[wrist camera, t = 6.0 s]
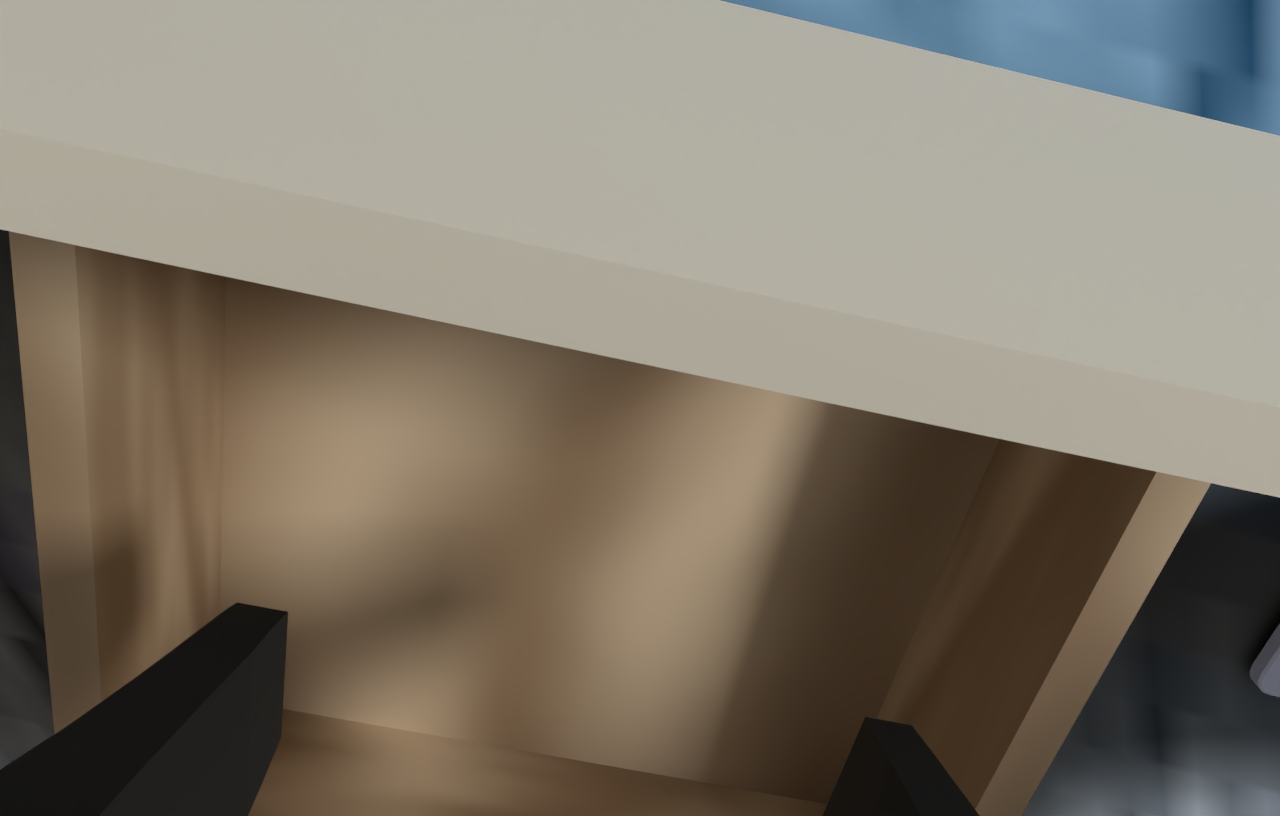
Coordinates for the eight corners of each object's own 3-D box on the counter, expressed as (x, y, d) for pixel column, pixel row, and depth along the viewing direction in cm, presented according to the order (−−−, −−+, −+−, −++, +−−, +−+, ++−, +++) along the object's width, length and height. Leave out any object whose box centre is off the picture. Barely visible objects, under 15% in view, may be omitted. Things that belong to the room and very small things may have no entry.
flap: (1316, 218, 10) (1369, 157, 10) (1618, 568, 7) (1726, 505, 6) (30, -87, 9) (6, -173, 9) (-426, 139, 6) (-514, 16, 5)
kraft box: (1145, 160, 15) (1357, 227, 10) (852, 806, 22) (904, 1020, 17) (202, -64, 14) (-22, -98, 9) (200, 692, 20) (67, 888, 16)
